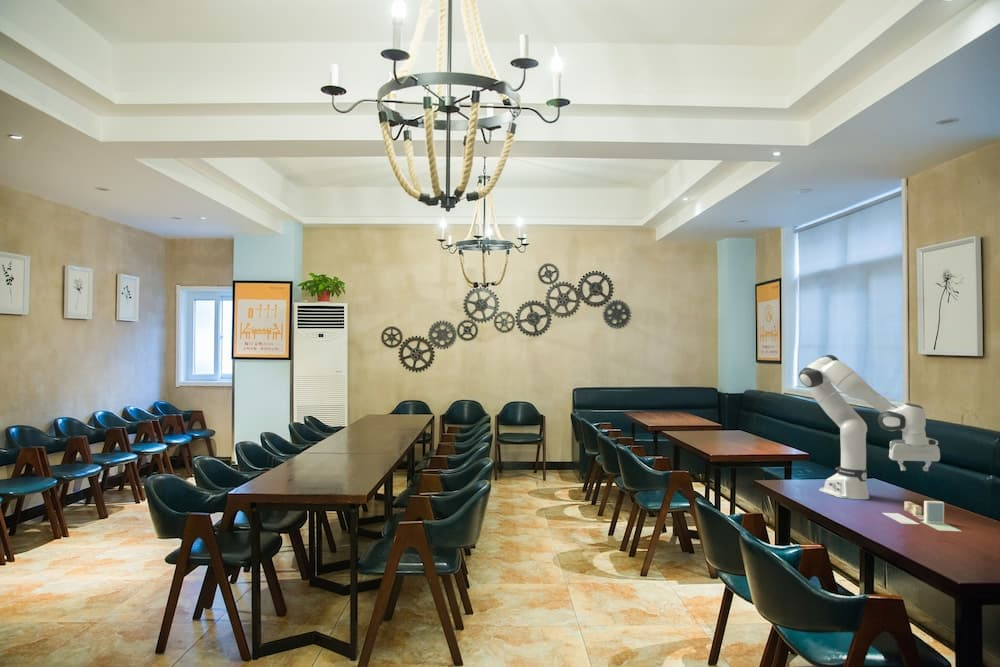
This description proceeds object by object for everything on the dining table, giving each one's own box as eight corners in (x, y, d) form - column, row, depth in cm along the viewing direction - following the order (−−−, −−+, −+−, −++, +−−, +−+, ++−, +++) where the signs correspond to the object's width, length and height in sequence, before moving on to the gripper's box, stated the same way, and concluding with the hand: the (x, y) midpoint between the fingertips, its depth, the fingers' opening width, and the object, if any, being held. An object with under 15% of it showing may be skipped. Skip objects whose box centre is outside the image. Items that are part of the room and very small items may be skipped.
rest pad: (882, 514, 278) (882, 512, 278) (898, 514, 278) (898, 513, 278) (902, 524, 262) (902, 523, 262) (919, 525, 262) (919, 524, 262)
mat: (919, 521, 267) (919, 520, 267) (941, 522, 266) (941, 521, 266) (938, 531, 254) (938, 530, 254) (961, 532, 254) (961, 531, 254)
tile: (923, 521, 266) (924, 500, 266) (940, 522, 266) (941, 501, 266) (926, 523, 264) (927, 502, 264) (944, 524, 263) (944, 502, 263)
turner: (901, 510, 285) (901, 501, 285) (912, 511, 284) (912, 501, 284) (920, 520, 270) (920, 510, 270) (932, 520, 270) (932, 510, 270)
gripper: (893, 440, 278) (893, 471, 278) (942, 441, 276) (942, 472, 276) (886, 438, 285) (886, 468, 284) (933, 439, 282) (934, 469, 282)
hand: (914, 470), depth 280 cm, fingers open, 8 cm apart
